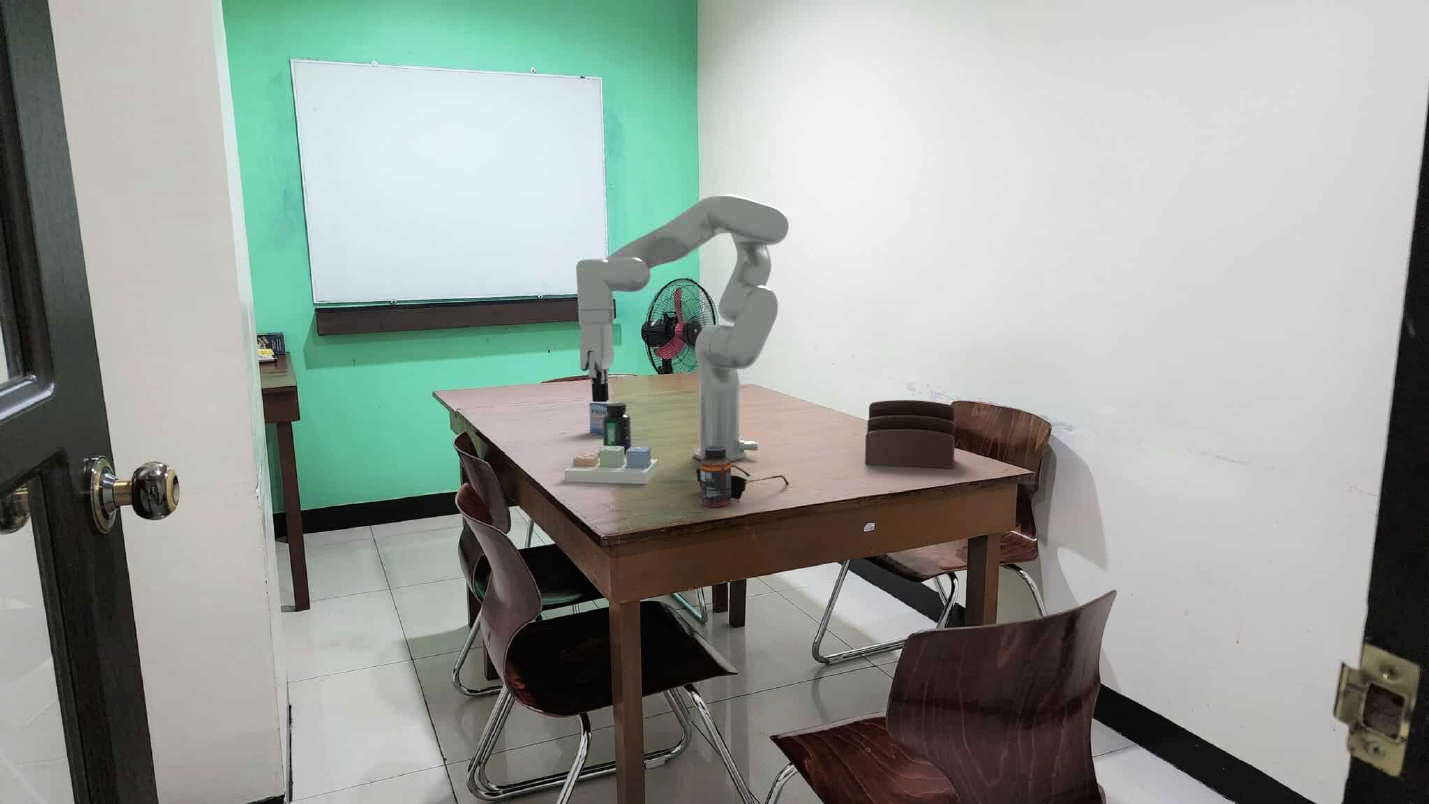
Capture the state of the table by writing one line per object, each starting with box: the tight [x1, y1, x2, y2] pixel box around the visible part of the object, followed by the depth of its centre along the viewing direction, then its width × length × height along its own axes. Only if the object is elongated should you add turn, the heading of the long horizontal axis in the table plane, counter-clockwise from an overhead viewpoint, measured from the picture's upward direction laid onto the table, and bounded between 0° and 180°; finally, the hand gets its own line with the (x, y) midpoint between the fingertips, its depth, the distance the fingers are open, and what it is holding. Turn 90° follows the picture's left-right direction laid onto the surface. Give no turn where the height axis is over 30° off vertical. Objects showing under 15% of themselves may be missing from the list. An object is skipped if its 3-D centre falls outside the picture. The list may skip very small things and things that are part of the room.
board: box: [564, 457, 659, 485], centre depth 191 cm, size 18×12×2 cm, turn 81°
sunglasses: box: [695, 464, 789, 500], centre depth 181 cm, size 14×16×5 cm
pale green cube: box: [599, 446, 625, 468], centre depth 190 cm, size 4×4×4 cm
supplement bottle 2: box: [700, 446, 733, 509], centre depth 168 cm, size 6×6×11 cm
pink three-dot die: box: [572, 453, 599, 467], centre depth 192 cm, size 4×4×4 cm
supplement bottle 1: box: [602, 402, 632, 455], centre depth 213 cm, size 7×7×12 cm
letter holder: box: [864, 399, 956, 470], centre depth 200 cm, size 10×20×14 cm, turn 76°
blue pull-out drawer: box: [625, 446, 652, 469], centre depth 190 cm, size 4×4×4 cm
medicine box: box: [589, 400, 623, 435], centre depth 236 cm, size 8×4×9 cm, turn 73°
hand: (600, 401), depth 189 cm, fingers closed
